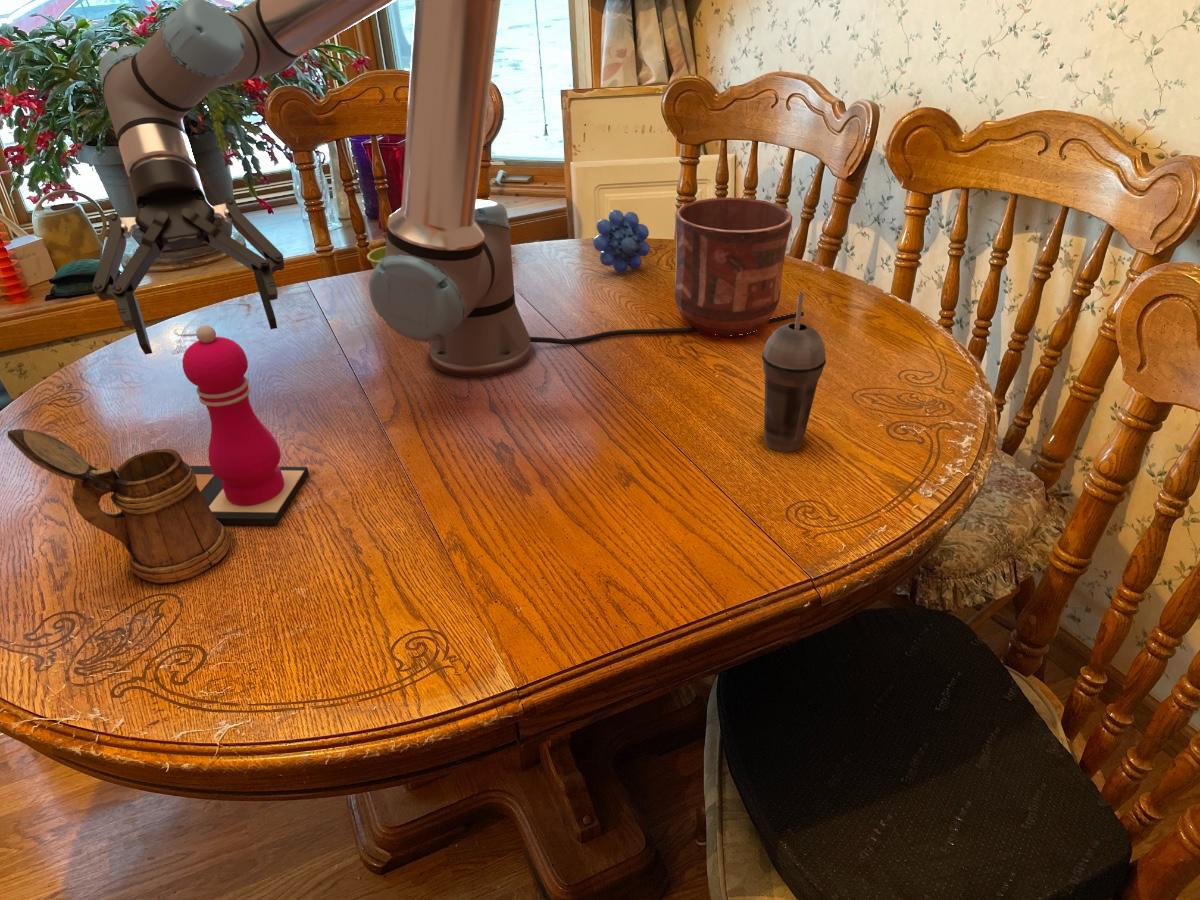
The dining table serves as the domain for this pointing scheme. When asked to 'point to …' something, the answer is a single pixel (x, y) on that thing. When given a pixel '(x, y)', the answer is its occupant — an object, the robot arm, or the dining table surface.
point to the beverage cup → (790, 381)
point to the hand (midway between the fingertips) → (211, 336)
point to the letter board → (249, 514)
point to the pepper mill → (233, 420)
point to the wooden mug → (139, 506)
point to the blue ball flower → (621, 241)
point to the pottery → (729, 264)
